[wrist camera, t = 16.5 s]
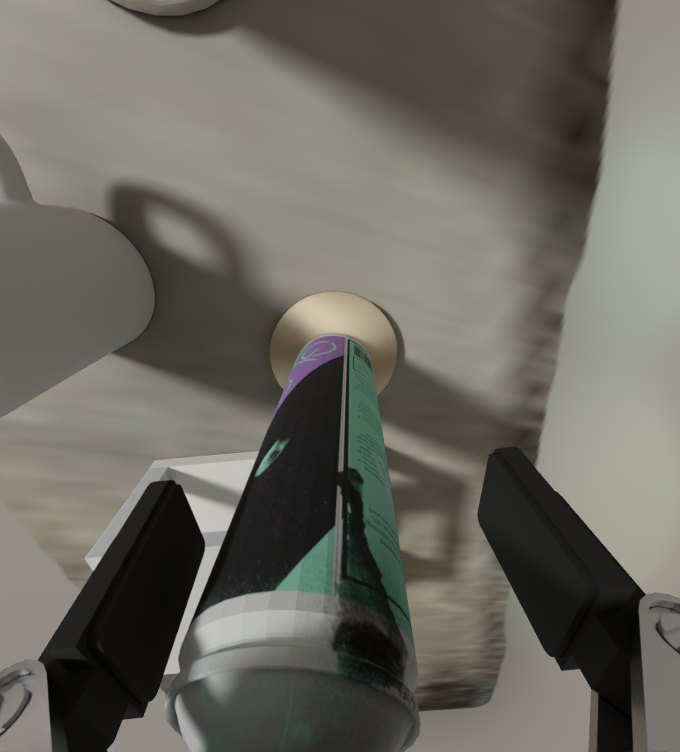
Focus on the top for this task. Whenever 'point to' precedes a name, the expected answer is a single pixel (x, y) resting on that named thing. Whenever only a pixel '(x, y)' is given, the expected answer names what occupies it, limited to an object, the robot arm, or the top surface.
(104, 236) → the mug
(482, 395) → the top surface
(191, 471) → the white open box frame
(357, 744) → the spray can
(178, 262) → the top surface
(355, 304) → the coaster
